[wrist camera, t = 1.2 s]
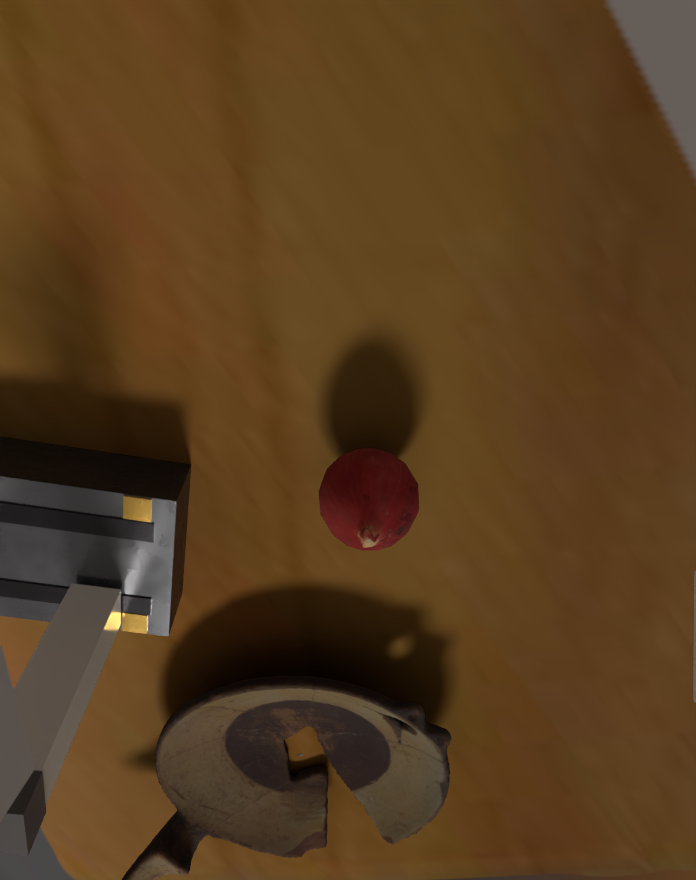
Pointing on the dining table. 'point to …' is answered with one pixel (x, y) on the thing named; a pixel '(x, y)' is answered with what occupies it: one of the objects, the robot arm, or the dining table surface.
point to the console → (91, 531)
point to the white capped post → (58, 699)
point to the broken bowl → (267, 768)
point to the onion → (368, 499)
